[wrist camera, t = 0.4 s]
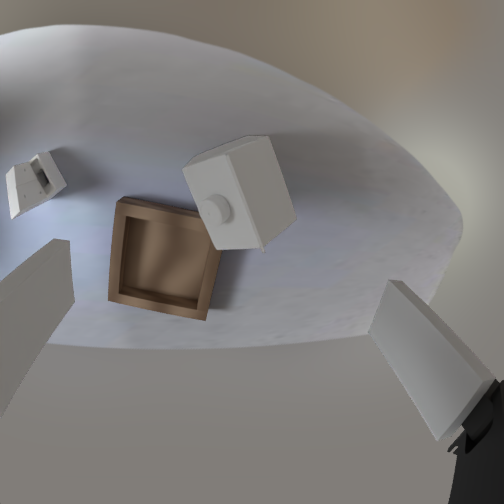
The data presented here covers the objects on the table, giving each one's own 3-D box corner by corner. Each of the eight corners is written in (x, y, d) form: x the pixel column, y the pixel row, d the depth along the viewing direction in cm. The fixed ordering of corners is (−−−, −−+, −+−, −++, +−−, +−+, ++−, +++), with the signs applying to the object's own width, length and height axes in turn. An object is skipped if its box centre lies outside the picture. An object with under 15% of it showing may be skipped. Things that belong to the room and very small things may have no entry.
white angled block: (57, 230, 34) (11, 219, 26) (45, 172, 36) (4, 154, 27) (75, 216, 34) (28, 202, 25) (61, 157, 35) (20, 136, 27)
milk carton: (248, 135, 36) (279, 136, 18) (267, 187, 38) (312, 235, 21) (194, 155, 36) (173, 176, 18) (215, 207, 39) (215, 271, 21)
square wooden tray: (113, 289, 41) (108, 300, 38) (123, 196, 36) (116, 201, 34) (205, 308, 44) (205, 320, 41) (227, 217, 39) (228, 224, 36)
